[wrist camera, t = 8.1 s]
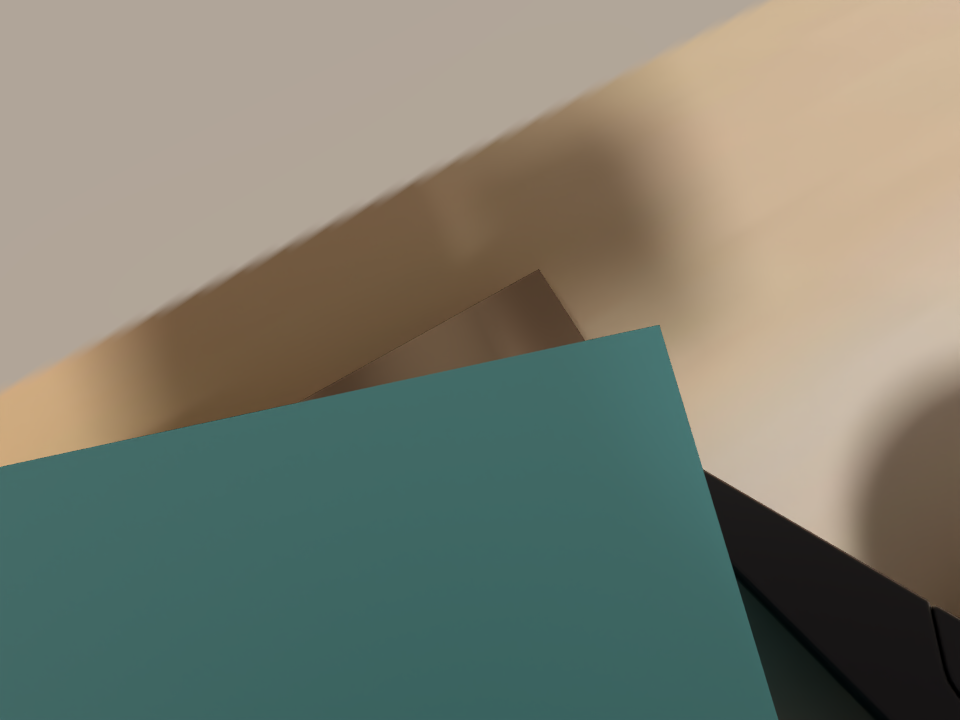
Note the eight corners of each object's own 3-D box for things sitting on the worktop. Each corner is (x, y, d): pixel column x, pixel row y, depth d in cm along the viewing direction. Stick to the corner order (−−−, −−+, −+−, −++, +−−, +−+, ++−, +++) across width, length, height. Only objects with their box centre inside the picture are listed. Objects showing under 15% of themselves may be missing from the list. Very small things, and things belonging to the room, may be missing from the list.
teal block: (548, 469, 15) (659, 324, 3) (590, 651, 14) (1001, 1463, 2) (382, 504, 15) (-108, 490, 3) (411, 688, 14) (-179, 1690, 2)
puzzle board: (536, 299, 19) (538, 268, 17) (775, 677, 16) (823, 709, 14) (-82, 643, 18) (-180, 665, 15) (48, 1136, 15) (-50, 1267, 12)
